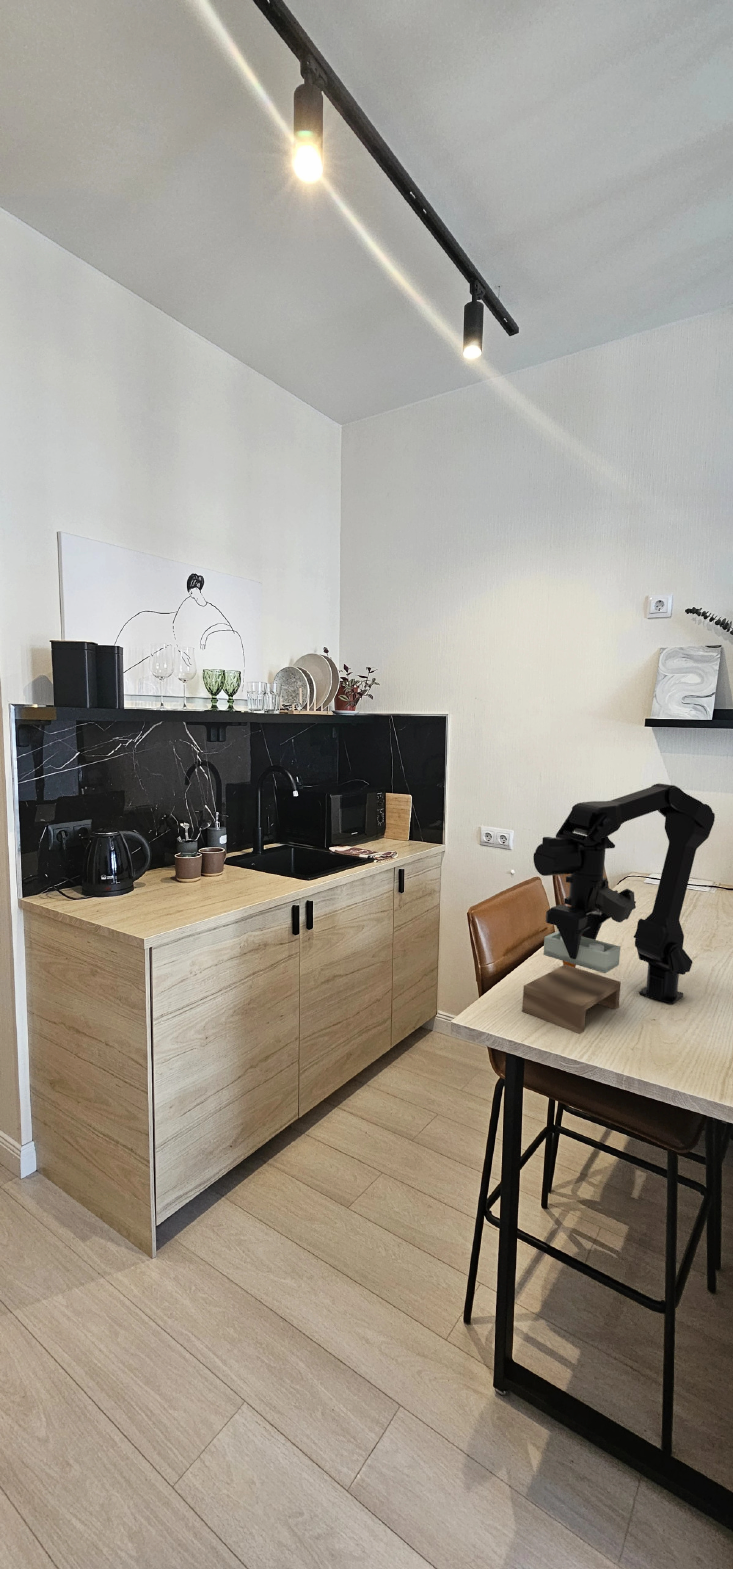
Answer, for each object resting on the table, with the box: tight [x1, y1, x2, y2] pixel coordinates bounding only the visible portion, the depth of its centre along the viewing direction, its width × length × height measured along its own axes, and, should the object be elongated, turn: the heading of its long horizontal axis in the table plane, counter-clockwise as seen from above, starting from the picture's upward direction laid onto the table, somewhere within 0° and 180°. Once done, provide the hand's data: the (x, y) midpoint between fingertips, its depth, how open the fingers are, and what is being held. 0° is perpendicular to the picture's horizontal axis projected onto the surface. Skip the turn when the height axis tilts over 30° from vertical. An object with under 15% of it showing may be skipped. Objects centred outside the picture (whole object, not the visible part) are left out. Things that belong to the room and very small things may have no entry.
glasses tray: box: [543, 930, 621, 974], centre depth 123 cm, size 6×12×4 cm, turn 47°
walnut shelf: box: [521, 964, 622, 1034], centre depth 125 cm, size 16×12×5 cm
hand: (580, 954), depth 123 cm, fingers closed on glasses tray, 6 cm apart
